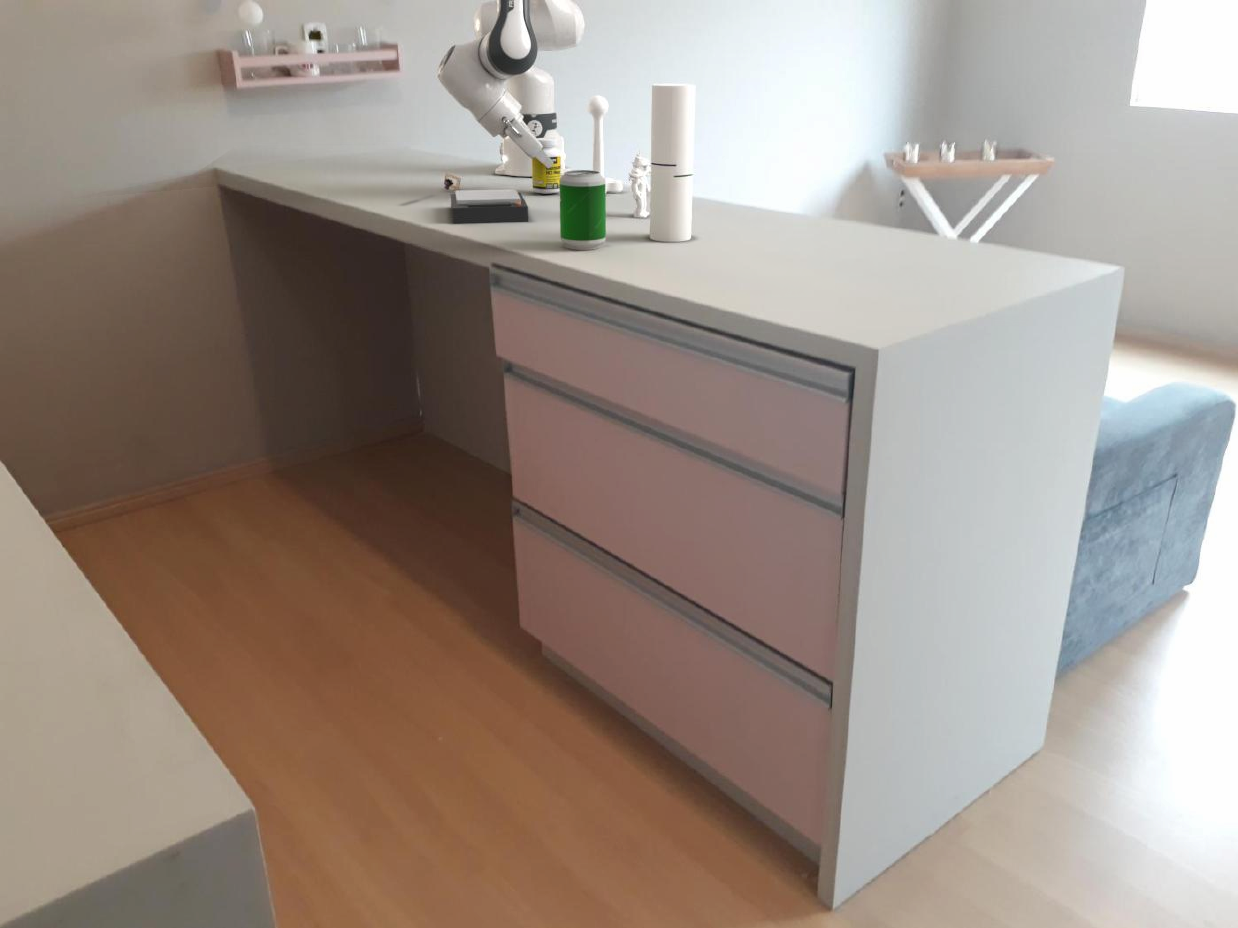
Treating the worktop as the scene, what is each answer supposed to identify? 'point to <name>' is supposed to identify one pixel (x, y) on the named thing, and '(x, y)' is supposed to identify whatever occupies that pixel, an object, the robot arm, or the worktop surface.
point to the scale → (488, 206)
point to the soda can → (582, 209)
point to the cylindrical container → (671, 161)
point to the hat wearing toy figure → (640, 185)
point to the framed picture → (450, 182)
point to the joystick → (601, 141)
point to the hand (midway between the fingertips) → (549, 163)
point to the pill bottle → (547, 169)
